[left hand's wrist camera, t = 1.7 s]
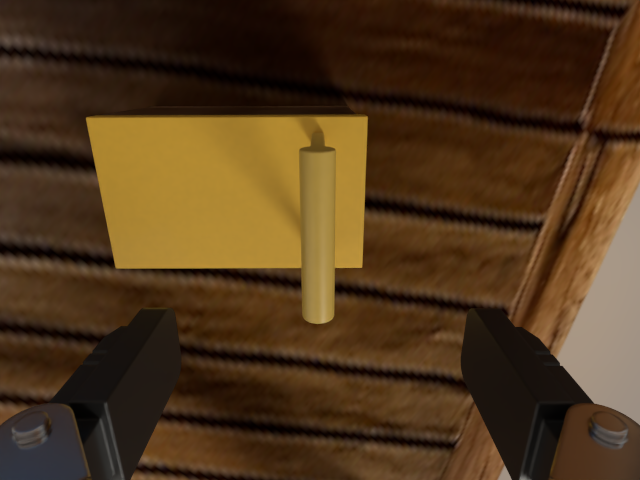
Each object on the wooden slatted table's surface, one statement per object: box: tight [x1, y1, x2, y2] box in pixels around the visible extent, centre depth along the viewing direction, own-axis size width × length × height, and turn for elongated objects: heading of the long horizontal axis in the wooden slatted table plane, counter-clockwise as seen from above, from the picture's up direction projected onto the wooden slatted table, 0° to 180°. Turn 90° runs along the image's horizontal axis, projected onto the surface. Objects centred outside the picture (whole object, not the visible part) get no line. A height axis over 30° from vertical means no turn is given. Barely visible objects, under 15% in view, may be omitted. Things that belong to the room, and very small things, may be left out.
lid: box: [86, 115, 368, 324], centre depth 22 cm, size 16×9×9 cm, turn 90°
